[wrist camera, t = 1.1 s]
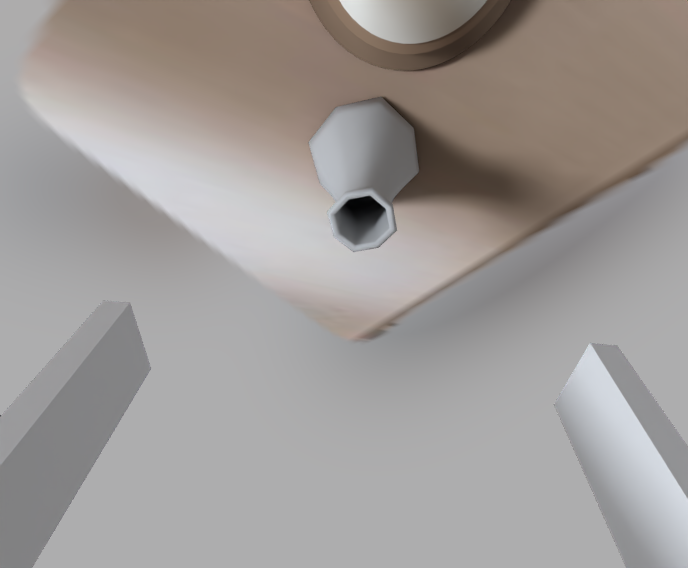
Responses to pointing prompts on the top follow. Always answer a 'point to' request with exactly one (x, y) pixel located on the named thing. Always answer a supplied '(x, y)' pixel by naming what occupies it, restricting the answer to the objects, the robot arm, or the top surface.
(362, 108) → the flask
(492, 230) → the top surface
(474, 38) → the pedestal
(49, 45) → the top surface
